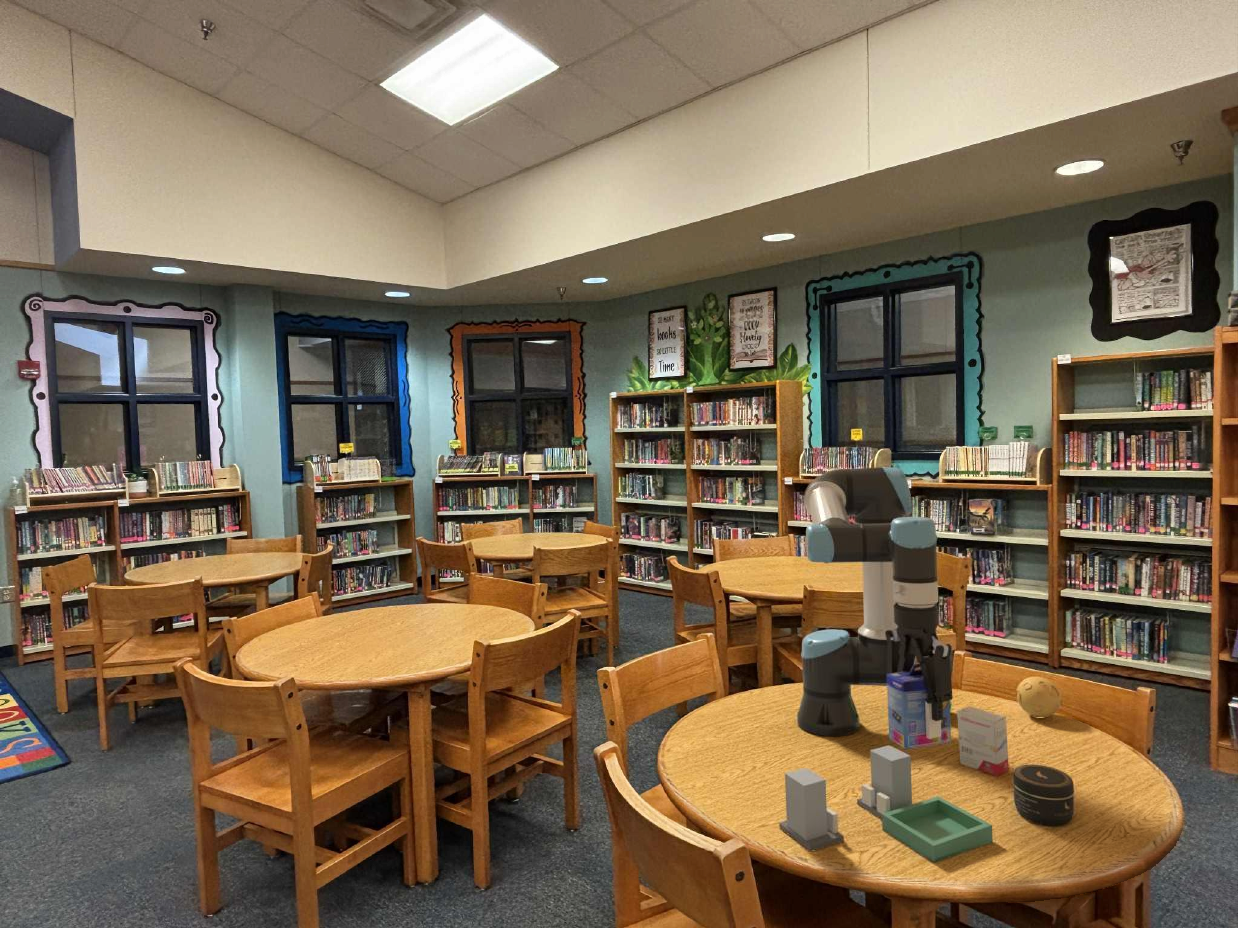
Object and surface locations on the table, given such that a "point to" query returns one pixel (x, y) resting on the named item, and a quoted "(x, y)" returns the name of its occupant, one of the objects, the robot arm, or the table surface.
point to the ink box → (983, 740)
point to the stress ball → (1038, 696)
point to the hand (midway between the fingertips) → (920, 730)
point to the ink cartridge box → (912, 710)
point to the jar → (1043, 795)
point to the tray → (937, 828)
